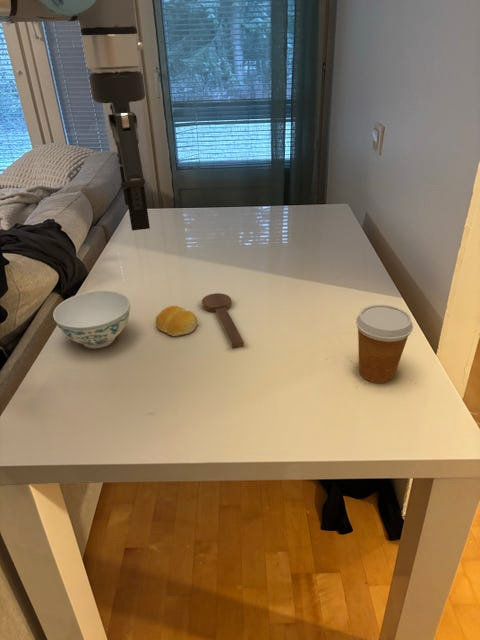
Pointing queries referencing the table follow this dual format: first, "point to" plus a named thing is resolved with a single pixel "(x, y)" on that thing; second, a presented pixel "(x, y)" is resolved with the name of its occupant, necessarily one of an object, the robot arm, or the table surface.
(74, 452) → the table surface
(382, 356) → the disposable coffee cup
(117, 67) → the robot arm
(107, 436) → the table surface
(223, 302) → the wooden spoon
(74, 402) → the table surface
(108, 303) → the chinaware
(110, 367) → the table surface
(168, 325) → the bread roll
